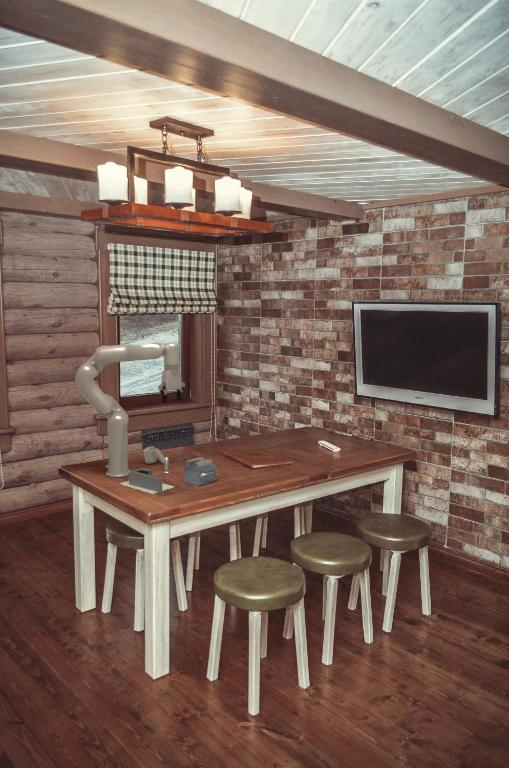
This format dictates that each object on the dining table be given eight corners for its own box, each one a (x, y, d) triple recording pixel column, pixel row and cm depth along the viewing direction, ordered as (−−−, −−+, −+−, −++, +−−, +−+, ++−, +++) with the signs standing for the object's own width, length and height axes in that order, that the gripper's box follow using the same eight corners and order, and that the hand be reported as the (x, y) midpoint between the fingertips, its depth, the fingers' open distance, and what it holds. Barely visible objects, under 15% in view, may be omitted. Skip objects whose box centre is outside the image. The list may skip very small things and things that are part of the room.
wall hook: (164, 464, 317) (160, 446, 317) (146, 468, 320) (142, 450, 319) (169, 461, 325) (165, 443, 325) (152, 464, 328) (148, 446, 327)
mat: (118, 484, 283) (118, 483, 283) (141, 478, 294) (141, 477, 294) (152, 494, 268) (152, 493, 268) (175, 487, 279) (174, 486, 279)
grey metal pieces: (155, 474, 301) (155, 454, 300) (172, 469, 310) (172, 450, 309) (200, 486, 281) (200, 465, 280) (217, 481, 290) (218, 460, 289)
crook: (128, 484, 283) (128, 471, 282) (142, 479, 290) (142, 467, 289) (158, 491, 271) (158, 479, 270) (172, 487, 278) (172, 475, 277)
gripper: (179, 366, 306) (179, 398, 308) (153, 368, 293) (153, 402, 295) (189, 367, 301) (189, 400, 304) (163, 369, 288) (163, 404, 291)
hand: (172, 401), depth 300 cm, fingers open, 9 cm apart
